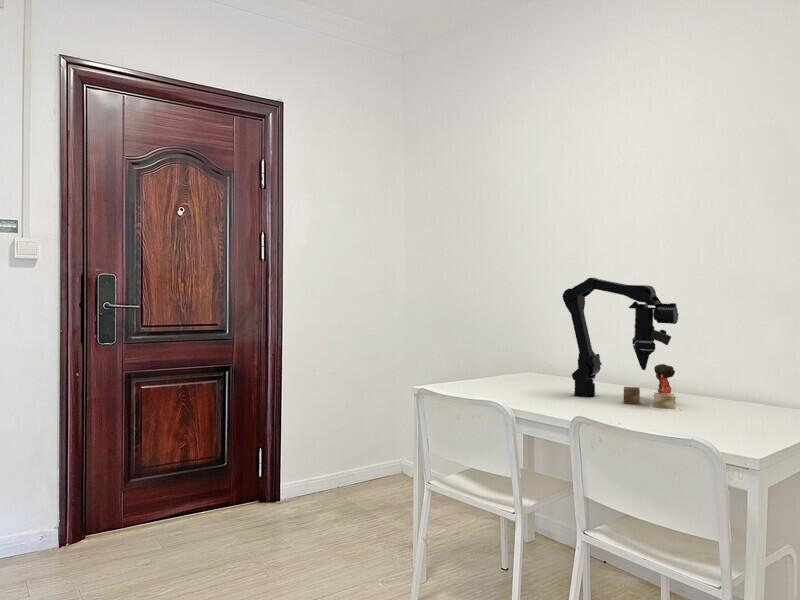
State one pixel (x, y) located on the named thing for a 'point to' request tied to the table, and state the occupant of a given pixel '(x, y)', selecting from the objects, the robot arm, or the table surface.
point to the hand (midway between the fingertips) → (642, 368)
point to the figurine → (664, 377)
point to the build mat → (665, 409)
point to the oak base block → (664, 400)
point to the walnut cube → (632, 395)
